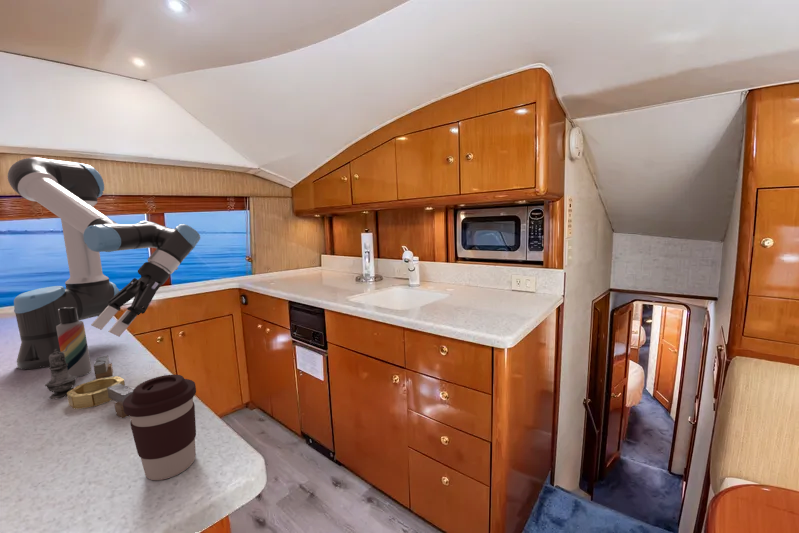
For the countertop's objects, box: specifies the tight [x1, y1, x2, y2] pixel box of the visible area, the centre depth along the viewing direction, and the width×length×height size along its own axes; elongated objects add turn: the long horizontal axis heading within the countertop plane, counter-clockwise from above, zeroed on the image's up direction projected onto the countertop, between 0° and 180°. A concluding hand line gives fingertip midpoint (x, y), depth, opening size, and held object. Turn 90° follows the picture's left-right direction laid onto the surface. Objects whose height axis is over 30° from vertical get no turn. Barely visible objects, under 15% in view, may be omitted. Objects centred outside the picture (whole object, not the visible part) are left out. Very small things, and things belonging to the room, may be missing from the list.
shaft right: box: [107, 383, 135, 419], centre depth 78 cm, size 8×4×5 cm, turn 60°
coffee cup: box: [123, 374, 197, 481], centre depth 58 cm, size 10×10×15 cm
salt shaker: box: [44, 349, 78, 400], centre depth 87 cm, size 6×6×12 cm
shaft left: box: [93, 354, 114, 380], centre depth 96 cm, size 8×4×5 cm, turn 36°
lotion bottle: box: [56, 307, 92, 378], centre depth 99 cm, size 6×6×20 cm
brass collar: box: [67, 375, 126, 410], centre depth 85 cm, size 10×10×3 cm
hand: (104, 330), depth 94 cm, fingers open, 13 cm apart
